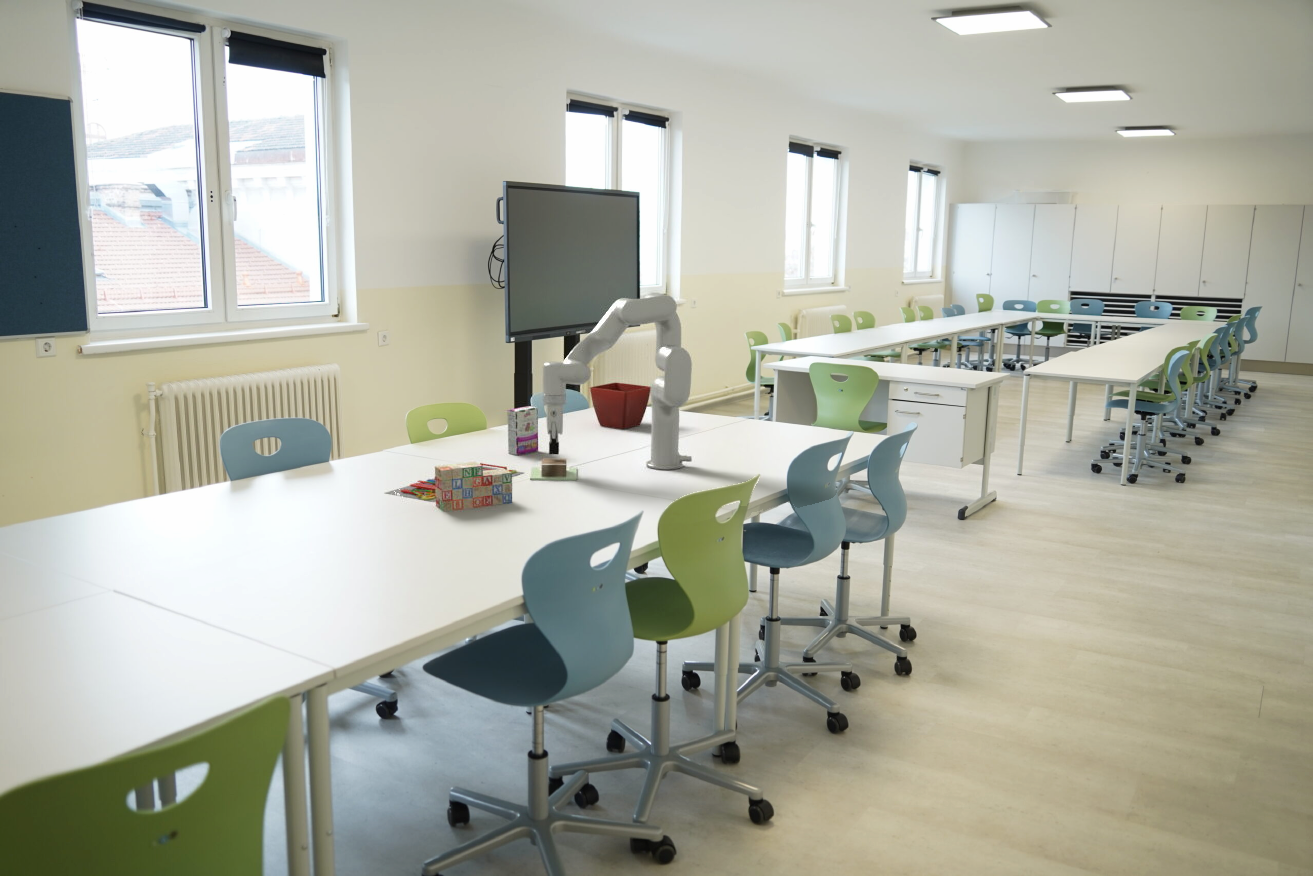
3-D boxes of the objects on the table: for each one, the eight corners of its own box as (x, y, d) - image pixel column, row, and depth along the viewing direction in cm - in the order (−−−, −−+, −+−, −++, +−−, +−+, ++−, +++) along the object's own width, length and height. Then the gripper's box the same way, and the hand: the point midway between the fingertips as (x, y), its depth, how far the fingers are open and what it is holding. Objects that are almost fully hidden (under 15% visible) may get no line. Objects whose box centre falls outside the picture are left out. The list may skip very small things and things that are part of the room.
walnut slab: (566, 458, 329) (566, 464, 320) (566, 470, 330) (566, 476, 321) (542, 458, 329) (541, 464, 320) (542, 470, 329) (541, 476, 321)
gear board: (433, 495, 289) (383, 487, 298) (433, 503, 289) (384, 495, 298) (524, 467, 328) (478, 460, 337) (524, 474, 328) (478, 467, 337)
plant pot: (625, 432, 404) (626, 391, 401) (588, 426, 414) (588, 387, 411) (651, 425, 420) (652, 386, 417) (614, 420, 430) (615, 382, 427)
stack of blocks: (504, 498, 295) (504, 458, 293) (512, 503, 290) (512, 462, 288) (435, 506, 285) (434, 465, 282) (442, 511, 280) (441, 469, 277)
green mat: (576, 469, 335) (576, 467, 335) (576, 480, 320) (576, 478, 320) (532, 469, 334) (532, 467, 334) (530, 480, 318) (530, 477, 318)
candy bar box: (528, 449, 366) (528, 405, 363) (538, 451, 363) (538, 407, 360) (507, 453, 357) (506, 409, 354) (517, 455, 354) (516, 410, 351)
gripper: (565, 403, 317) (565, 458, 320) (565, 396, 331) (565, 449, 335) (541, 402, 316) (541, 458, 320) (543, 395, 331) (543, 449, 334)
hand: (554, 453), depth 327 cm, fingers closed
